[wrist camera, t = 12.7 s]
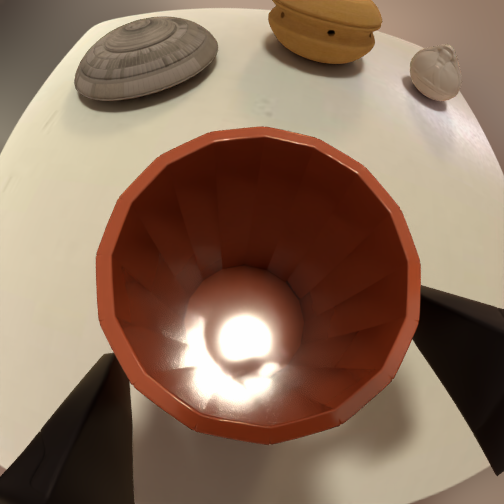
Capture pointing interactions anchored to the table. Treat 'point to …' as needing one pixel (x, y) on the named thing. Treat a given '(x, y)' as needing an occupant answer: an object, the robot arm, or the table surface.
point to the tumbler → (258, 285)
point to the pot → (326, 28)
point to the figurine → (436, 72)
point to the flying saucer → (144, 58)
